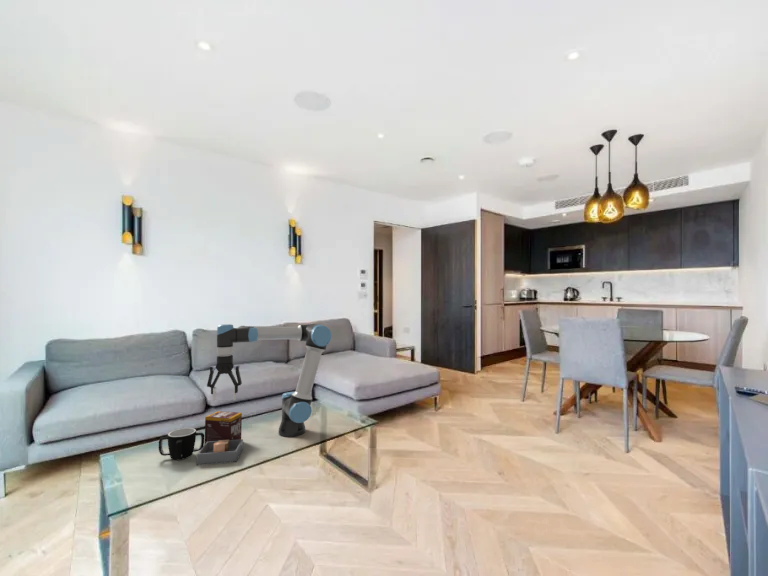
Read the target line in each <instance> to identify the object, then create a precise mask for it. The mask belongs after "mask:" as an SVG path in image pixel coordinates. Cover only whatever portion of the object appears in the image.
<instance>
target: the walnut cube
mask: <svg viewBox="0 0 768 576" xmlns="http://www.w3.org/2000/svg"><path fill="white" fill-rule="evenodd" d="M220 441H223V442H225V452H228V451H229V441H230V440H219V441H218V442H220Z"/></svg>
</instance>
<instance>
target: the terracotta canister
mask: <svg viewBox="0 0 768 576" xmlns="http://www.w3.org/2000/svg"><path fill="white" fill-rule="evenodd" d="M214 452H225V442H223V441H220V442H216V443H214V446H213V453H214Z"/></svg>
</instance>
